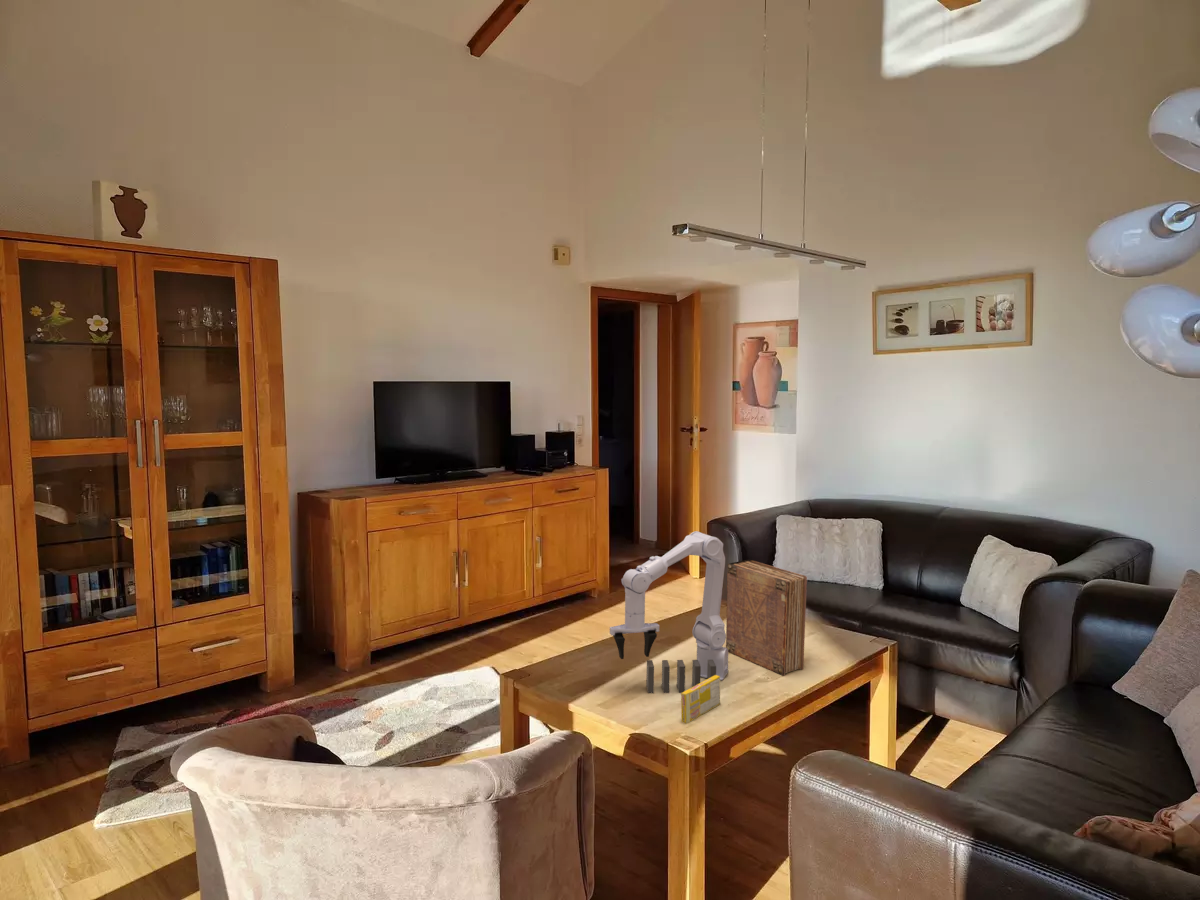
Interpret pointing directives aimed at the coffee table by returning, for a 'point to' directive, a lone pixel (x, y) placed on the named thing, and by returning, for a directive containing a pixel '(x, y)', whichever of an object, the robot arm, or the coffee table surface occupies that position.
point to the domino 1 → (650, 676)
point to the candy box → (700, 699)
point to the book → (766, 615)
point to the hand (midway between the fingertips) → (634, 656)
